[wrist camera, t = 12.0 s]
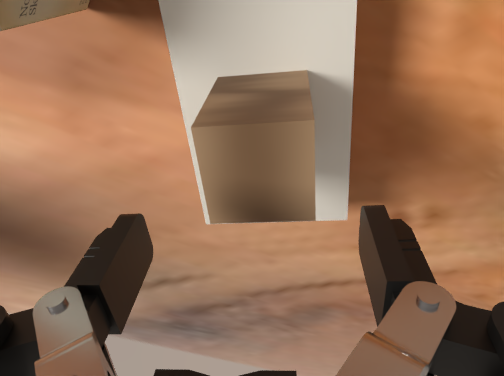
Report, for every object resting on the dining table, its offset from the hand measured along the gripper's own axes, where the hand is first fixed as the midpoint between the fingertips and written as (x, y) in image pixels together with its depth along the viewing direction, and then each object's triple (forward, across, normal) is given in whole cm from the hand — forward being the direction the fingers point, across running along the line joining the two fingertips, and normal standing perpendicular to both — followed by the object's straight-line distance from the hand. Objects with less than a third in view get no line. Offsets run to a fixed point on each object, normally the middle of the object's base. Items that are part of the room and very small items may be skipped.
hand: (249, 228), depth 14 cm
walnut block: (+10, 0, 0) cm, 10 cm away
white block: (+14, 0, 0) cm, 14 cm away
